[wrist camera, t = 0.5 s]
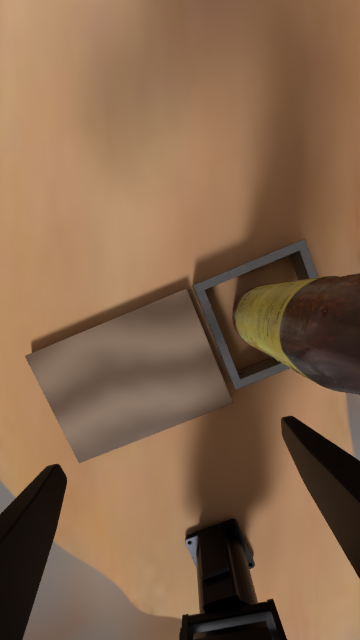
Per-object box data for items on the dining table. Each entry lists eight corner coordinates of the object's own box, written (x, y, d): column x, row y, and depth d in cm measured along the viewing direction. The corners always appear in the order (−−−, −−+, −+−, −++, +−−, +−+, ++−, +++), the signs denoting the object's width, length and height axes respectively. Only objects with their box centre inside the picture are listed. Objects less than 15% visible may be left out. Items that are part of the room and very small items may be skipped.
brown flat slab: (230, 398, 24) (233, 402, 23) (83, 456, 25) (79, 463, 24) (186, 288, 23) (186, 288, 22) (31, 353, 23) (24, 355, 22)
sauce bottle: (235, 349, 23) (541, 638, 4) (225, 292, 23) (533, 265, 3) (296, 337, 23) (952, 570, 4) (287, 279, 23) (1039, 164, 3)
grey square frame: (328, 343, 23) (341, 347, 21) (230, 381, 24) (235, 389, 22) (293, 243, 22) (305, 238, 20) (192, 286, 23) (193, 285, 21)
